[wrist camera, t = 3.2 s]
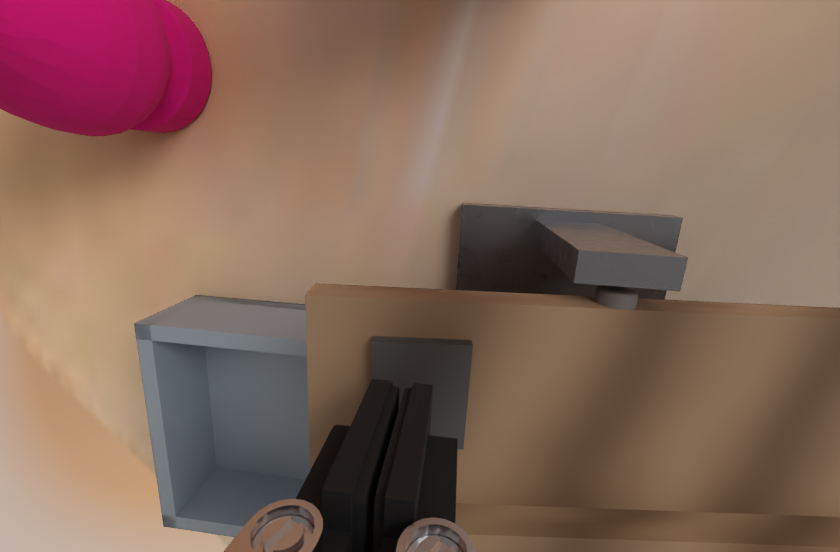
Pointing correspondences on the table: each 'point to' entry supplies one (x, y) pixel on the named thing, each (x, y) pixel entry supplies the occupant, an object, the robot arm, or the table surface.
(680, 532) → the tray
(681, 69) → the table surface
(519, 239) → the stand
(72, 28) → the pepper mill
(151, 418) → the bin
